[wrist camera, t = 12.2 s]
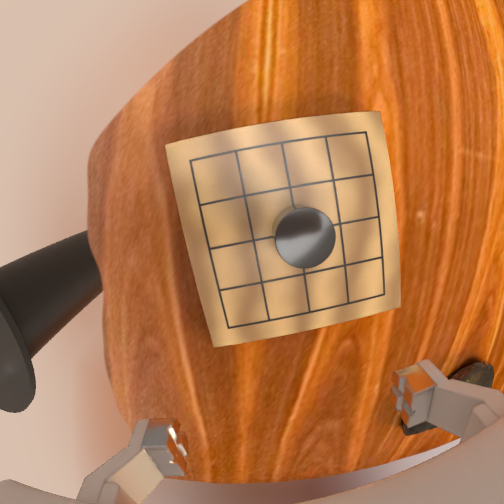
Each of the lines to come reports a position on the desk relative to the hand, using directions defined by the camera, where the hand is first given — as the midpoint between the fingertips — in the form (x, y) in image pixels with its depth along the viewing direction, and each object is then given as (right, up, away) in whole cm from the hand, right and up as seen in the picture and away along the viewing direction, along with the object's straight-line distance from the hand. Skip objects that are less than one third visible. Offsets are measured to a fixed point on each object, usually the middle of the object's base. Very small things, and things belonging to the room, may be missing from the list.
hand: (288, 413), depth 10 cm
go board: (+3, +8, +19) cm, 20 cm away
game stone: (+3, +8, +17) cm, 19 cm away
